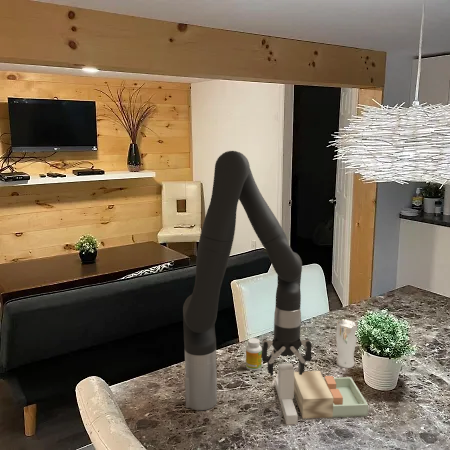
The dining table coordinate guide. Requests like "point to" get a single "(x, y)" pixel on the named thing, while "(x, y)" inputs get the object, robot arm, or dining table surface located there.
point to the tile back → (330, 382)
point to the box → (349, 399)
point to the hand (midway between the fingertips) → (285, 373)
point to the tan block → (313, 395)
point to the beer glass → (346, 342)
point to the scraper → (286, 392)
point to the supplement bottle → (253, 354)
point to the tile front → (337, 396)
